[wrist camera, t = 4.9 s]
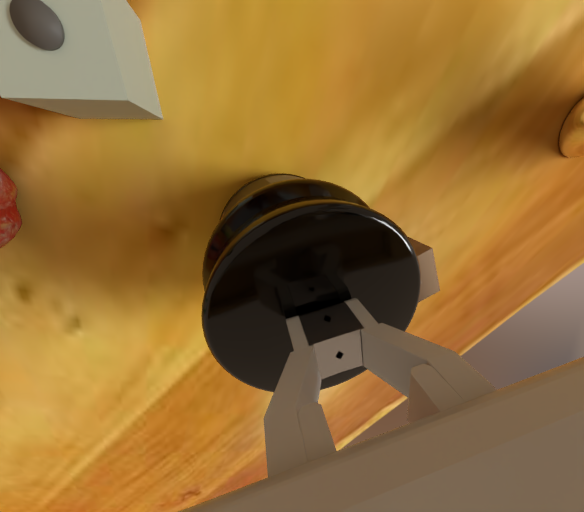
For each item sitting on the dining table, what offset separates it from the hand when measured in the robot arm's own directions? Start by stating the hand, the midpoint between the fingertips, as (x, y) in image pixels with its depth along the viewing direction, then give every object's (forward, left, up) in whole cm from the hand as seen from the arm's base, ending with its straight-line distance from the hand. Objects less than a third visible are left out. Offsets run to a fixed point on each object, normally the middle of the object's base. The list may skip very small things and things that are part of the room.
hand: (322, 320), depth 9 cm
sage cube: (+8, -13, -12) cm, 20 cm away
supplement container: (0, 0, -12) cm, 12 cm away
